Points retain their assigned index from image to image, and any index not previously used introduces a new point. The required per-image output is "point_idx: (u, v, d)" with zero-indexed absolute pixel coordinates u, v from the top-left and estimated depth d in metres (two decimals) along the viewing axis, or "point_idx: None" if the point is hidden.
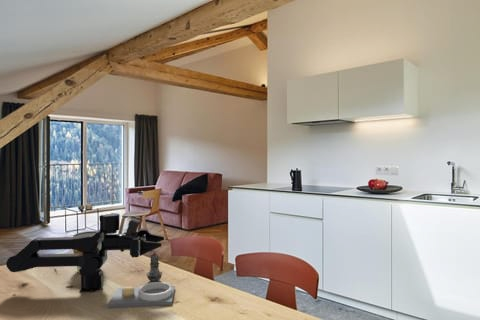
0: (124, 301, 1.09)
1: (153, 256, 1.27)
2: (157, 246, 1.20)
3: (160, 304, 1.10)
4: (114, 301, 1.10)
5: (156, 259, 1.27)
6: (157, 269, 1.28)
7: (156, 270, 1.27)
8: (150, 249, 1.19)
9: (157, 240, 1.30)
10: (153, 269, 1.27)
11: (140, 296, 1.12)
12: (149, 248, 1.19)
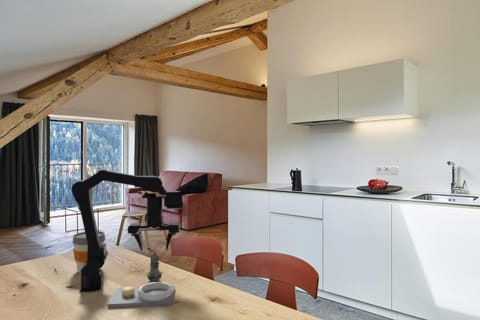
0: (124, 301, 1.09)
1: (153, 256, 1.27)
2: None
3: (160, 304, 1.10)
4: (114, 301, 1.10)
5: (156, 259, 1.27)
6: (157, 269, 1.28)
7: (156, 270, 1.27)
8: (169, 241, 1.28)
9: (141, 244, 1.27)
10: (153, 269, 1.27)
11: (140, 296, 1.12)
12: (169, 240, 1.28)
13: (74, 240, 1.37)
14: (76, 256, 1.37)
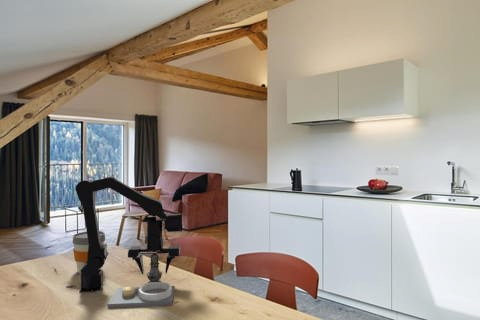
0: (124, 301, 1.09)
1: (153, 256, 1.27)
2: (167, 270, 1.29)
3: (160, 304, 1.10)
4: (114, 301, 1.10)
5: (156, 259, 1.27)
6: (157, 269, 1.28)
7: (156, 270, 1.27)
8: (169, 264, 1.28)
9: (142, 268, 1.27)
10: (153, 269, 1.27)
11: (140, 296, 1.12)
12: None
13: (74, 240, 1.37)
14: (76, 256, 1.37)
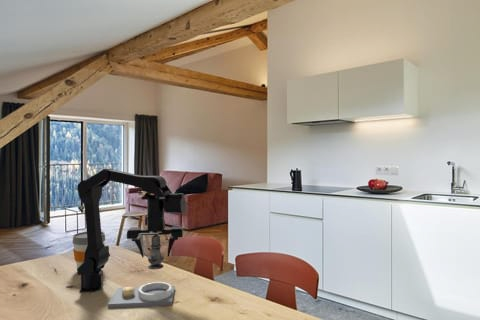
0: (124, 301, 1.09)
1: (155, 237, 1.17)
2: (169, 252, 1.19)
3: (160, 304, 1.10)
4: (114, 301, 1.10)
5: (158, 240, 1.17)
6: (159, 251, 1.18)
7: (158, 252, 1.17)
8: (171, 246, 1.18)
9: (143, 250, 1.17)
10: (155, 252, 1.17)
11: (140, 296, 1.12)
12: None
13: (74, 240, 1.37)
14: (76, 256, 1.37)
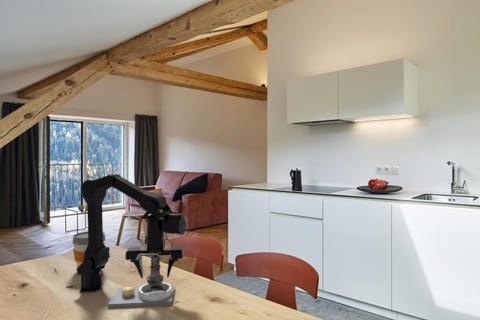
0: (124, 301, 1.09)
1: (154, 258, 1.14)
2: None
3: (160, 304, 1.10)
4: (114, 301, 1.10)
5: (157, 261, 1.15)
6: (158, 272, 1.15)
7: (158, 273, 1.15)
8: None
9: (142, 271, 1.14)
10: (154, 273, 1.14)
11: (140, 296, 1.12)
12: None
13: (74, 240, 1.37)
14: (76, 256, 1.37)
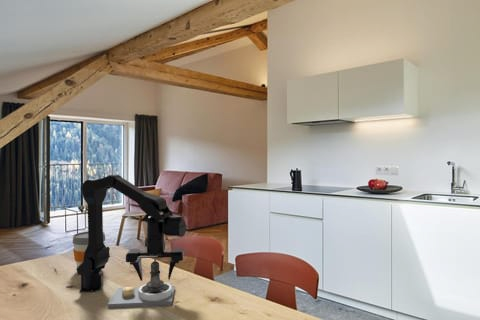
0: (124, 301, 1.09)
1: (151, 263, 1.15)
2: (170, 276, 1.16)
3: (160, 304, 1.10)
4: (114, 301, 1.10)
5: (152, 268, 1.14)
6: (153, 279, 1.14)
7: (152, 279, 1.14)
8: (172, 270, 1.15)
9: (141, 274, 1.14)
10: None
11: (140, 296, 1.12)
12: None
13: (74, 240, 1.37)
14: (76, 256, 1.37)
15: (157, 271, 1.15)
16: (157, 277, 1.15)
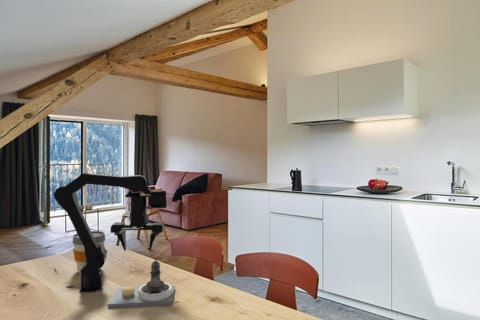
0: (124, 301, 1.09)
1: (152, 263, 1.15)
2: (151, 247, 1.27)
3: (160, 304, 1.10)
4: (114, 301, 1.10)
5: (152, 267, 1.14)
6: (153, 279, 1.14)
7: (152, 279, 1.14)
8: (153, 241, 1.26)
9: (125, 244, 1.26)
10: (151, 278, 1.15)
11: (140, 296, 1.12)
12: (153, 240, 1.26)
13: (74, 240, 1.37)
14: (76, 256, 1.37)
15: (157, 271, 1.15)
16: (157, 277, 1.15)
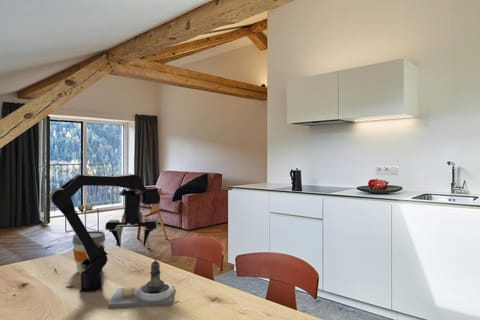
0: (124, 301, 1.09)
1: (151, 264, 1.15)
2: (145, 243, 1.31)
3: (160, 304, 1.10)
4: (114, 301, 1.10)
5: (152, 268, 1.14)
6: (153, 279, 1.14)
7: (152, 279, 1.14)
8: (147, 237, 1.31)
9: (119, 241, 1.30)
10: None
11: (140, 296, 1.12)
12: None
13: (74, 240, 1.37)
14: (76, 256, 1.37)
15: (157, 271, 1.15)
16: (157, 277, 1.15)
